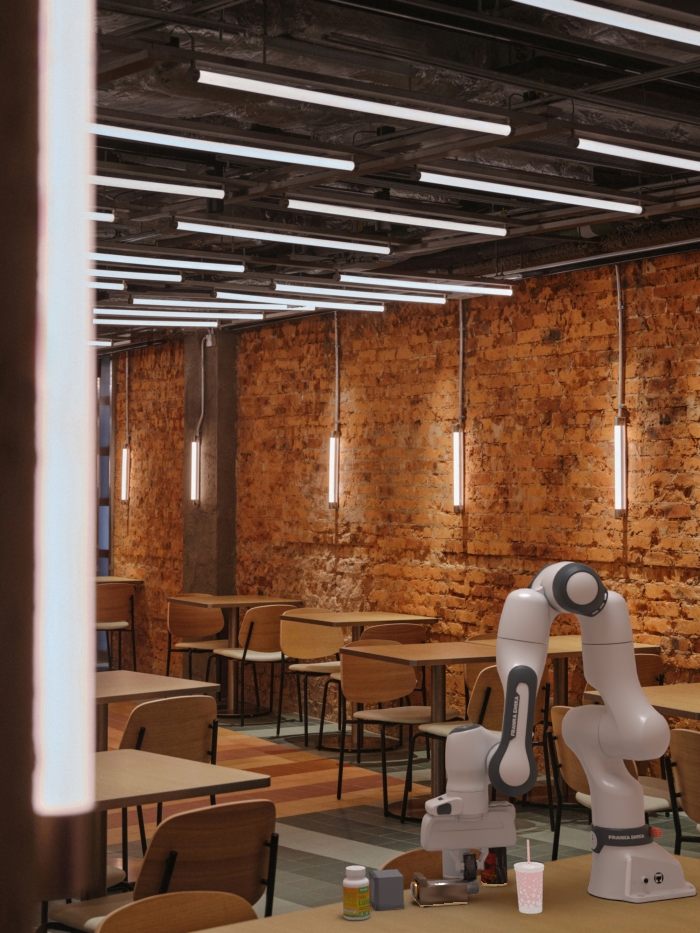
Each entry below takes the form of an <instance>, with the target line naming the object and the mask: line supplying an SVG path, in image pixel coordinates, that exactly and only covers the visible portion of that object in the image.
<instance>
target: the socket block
mask: <svg viewBox="0 0 700 933" xmlns="http://www.w3.org/2000/svg"><path fill="white" fill-rule="evenodd" d="M368 880H369V888H370V906H371V907H372V908H373V909H374V911H375V912H377V911H379V912H380V911H389V910H391V911H393V910H392V909H394V910H398V909H397V908H404V909H405V896H404V895H405V894H404V889H405V888H404V886H405V885H404V875H403V874H402V873H401V872H400V871H399V869H381V870H380V869H379V870H369V871H368Z"/></svg>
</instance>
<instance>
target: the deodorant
mask: <svg viewBox="0 0 700 933" xmlns="http://www.w3.org/2000/svg"><path fill="white" fill-rule="evenodd" d="M507 851H508V850H507V847H493V848H488V852H489V853H488V855H487V857H486V859H485V861H484V870H479V871H480V875H479V876H480V882H481V881H482V882H483V883H487V884H504V883H507V882H508V857H507V856H508V855H507V854H508V853H507ZM481 853H482V852H480V851H479V856H480V855H481ZM508 883H509V882H508Z"/></svg>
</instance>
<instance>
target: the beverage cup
mask: <svg viewBox="0 0 700 933" xmlns="http://www.w3.org/2000/svg"><path fill="white" fill-rule="evenodd" d="M526 849H527V850H526V851H527V852H526V854H527V861H521V862H520V861H519V862H516V863H514V864H513V869H514V871H515V880H516V882H515V883H516V889H517V902H518V911H519V912H520V913H523V914H528V915H530V914H531V915H532V914H535V915H536V914H540V913H542V912H543V891H544V890H543V886H544V885H543V884H544V882H543V881H544V880H543V878H544V876H543V875H544V870H545V865H544V863H541V862H536V861H531V857H530V856H531V855H530V854H531V852H530V839H526Z"/></svg>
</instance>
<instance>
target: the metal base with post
mask: <svg viewBox="0 0 700 933" xmlns="http://www.w3.org/2000/svg"><path fill="white" fill-rule="evenodd" d="M476 860H477V854H476V853H475V852H470V853H463V862H464V871H463V879H452V880H436V881H427V886H431V885H446V884H461V883H466V884H467V894H468V895H469V896H470V895H478V894H479V893H480V882H479V879H478V875H477V871H478V870H476ZM410 896H411V898H412V899H414V898H419V882H414V881H411V883H410Z"/></svg>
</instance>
